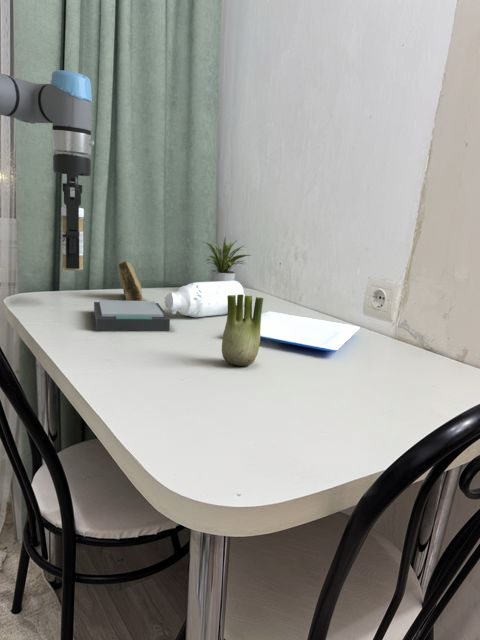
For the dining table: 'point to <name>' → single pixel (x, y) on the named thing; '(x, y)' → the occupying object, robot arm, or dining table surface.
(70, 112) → the robot arm
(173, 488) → the dining table surface
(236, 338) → the fennel bulb
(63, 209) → the sprinkles bottle
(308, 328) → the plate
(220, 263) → the house plant
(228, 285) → the white bottle
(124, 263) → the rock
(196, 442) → the dining table surface
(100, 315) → the scale
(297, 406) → the dining table surface
